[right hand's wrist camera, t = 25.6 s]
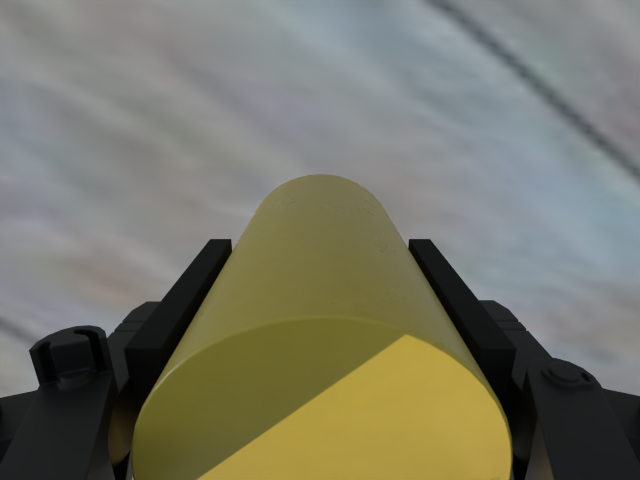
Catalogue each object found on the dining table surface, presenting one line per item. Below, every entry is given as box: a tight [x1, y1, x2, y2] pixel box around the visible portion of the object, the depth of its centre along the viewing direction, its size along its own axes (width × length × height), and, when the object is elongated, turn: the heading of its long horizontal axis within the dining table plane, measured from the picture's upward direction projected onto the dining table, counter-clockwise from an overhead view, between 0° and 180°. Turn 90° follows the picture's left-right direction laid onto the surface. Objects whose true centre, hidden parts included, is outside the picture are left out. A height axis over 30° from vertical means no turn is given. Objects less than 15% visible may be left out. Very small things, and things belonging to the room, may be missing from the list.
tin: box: [131, 174, 513, 480], centre depth 12 cm, size 6×6×11 cm
